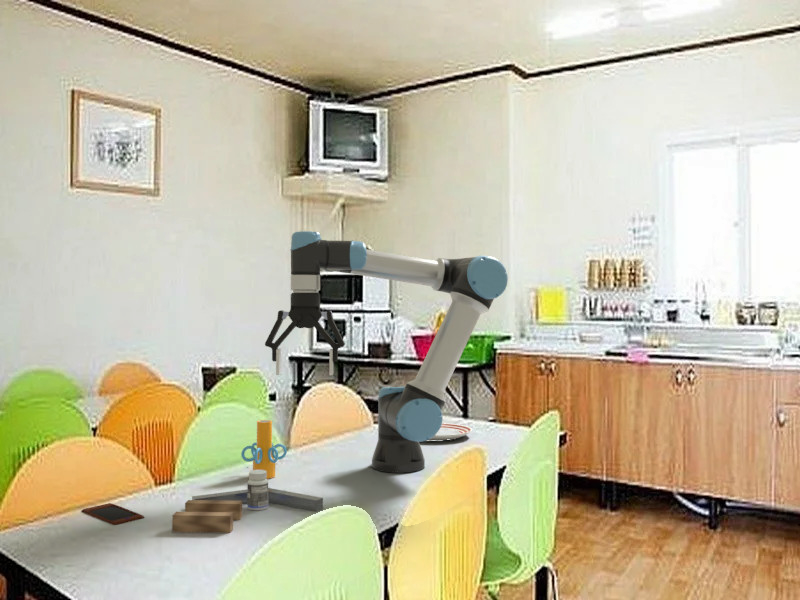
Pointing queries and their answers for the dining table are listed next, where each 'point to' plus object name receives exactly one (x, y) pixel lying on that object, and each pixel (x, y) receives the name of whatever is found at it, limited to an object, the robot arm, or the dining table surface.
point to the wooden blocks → (207, 516)
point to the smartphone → (112, 514)
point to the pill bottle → (257, 490)
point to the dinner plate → (460, 428)
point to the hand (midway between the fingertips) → (304, 374)
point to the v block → (270, 498)
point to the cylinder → (264, 449)
